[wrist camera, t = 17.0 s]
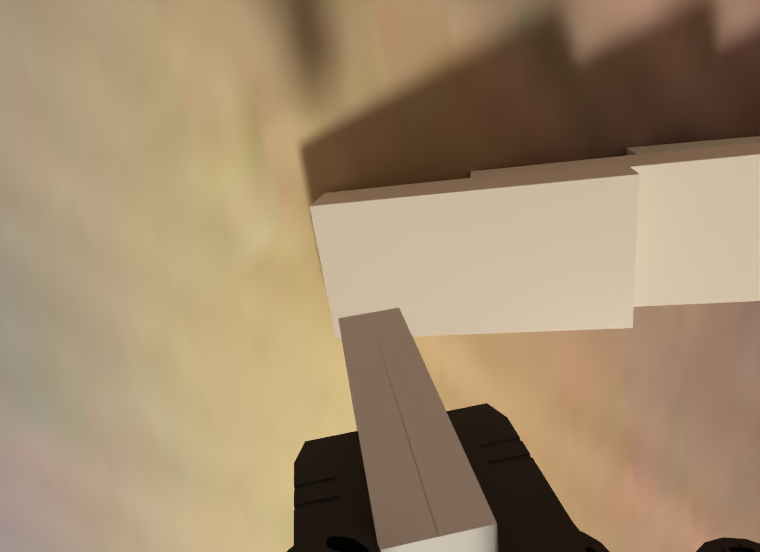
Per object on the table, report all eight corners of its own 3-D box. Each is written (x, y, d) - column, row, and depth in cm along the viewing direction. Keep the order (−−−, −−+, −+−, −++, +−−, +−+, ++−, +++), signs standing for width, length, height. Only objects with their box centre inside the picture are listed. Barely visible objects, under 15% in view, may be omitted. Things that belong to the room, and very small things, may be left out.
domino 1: (336, 339, 19) (632, 327, 17) (309, 206, 17) (639, 174, 15) (347, 316, 20) (618, 303, 18) (324, 192, 18) (623, 162, 16)
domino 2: (479, 313, 19) (782, 299, 17) (470, 182, 17) (808, 149, 15) (479, 293, 21) (755, 278, 19) (470, 171, 19) (775, 140, 17)
